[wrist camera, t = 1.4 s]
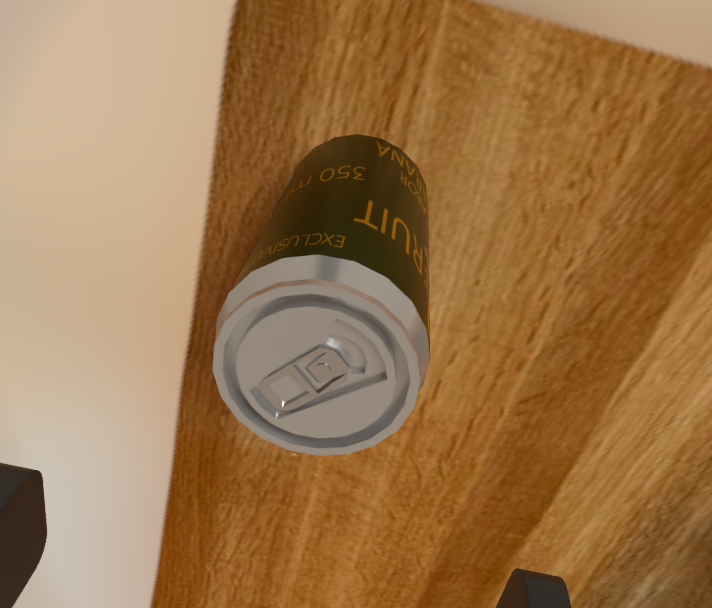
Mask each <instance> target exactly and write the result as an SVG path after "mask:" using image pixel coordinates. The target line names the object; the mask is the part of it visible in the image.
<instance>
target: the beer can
mask: <svg viewBox="0 0 712 608" xmlns="http://www.w3.org/2000/svg"><path fill="white" fill-rule="evenodd" d="M429 361H430V313H429V230H428V200H427V191H426V185H425V182H424V180H423V178H422V176H421V174H420V172H419V170H418V168H417V166H416V165H415V163H414V162H413V161H412V160H411V159H410V158H409V157H408V156H407V155H406V154H405V153H404V152H403V151H402V150H401V149H399V148H397V147H396V146H394V145H392V144H390V143H388V142H386V141H385V140H383V139H381V138H375V137H370V136H364V135H359V134H357V135H350V136H342V137H335V138H333V139H331V140H329V141H327V142H325V143H323V144H321V145H319V146H317V147H315V148H314V149H313V150H312V151H311V152H310V153H309V154H308V155H307V156H306V157H305V158H304V159H303V160H302V161H301V162H300V164H299V166H298V168H297V169H296V171H295V173H294V175H293V177H292V179H291V180H290V182H289V184H288V186H287V188H286V190H285V191H284V193H283V195H282V197H281V199H280V201H279V202H278V204H277V206H276V208H275V210H274V212H273V213H272V215H271V217H270V219H269V221H268V223H267V224H266V226H265V228H264V230H263V232H262V234H261V235H260V237H259V239H258V241H257V243H256V245H255V246H254V248H253V250H252V252H251V254H250V256H249V257H248V259H247V261H246V263H245V265H244V266H243V268H242V270H241V272H240V274H239V276H238V277H237V279H236V281H235V283H234V285H233V287H232V288H231V290H230V292H229V294H228V296H227V298H226V300H225V303H224V305H223V307H222V309H221V311H220V313H219V315H218V317H217V323H216V340H215V344H214V357H213V374H214V377H215V380H216V383H217V386H218V389H219V392H220V395H221V398H222V399H223V400H224V402H225V403H226V404H227V406H228V407H229V409H230V410H231V411H232V413H233V414H234V415H235V417H236V418H237V420H239V421H240V422H241V423H242V424H244V425H245V426H246V427H248V428H249V429H250V430H251V431H253V432H254V433H255V434H256V435H258V436H259V437H260V438H262V439H264V440H267V441H269V442H271V443H273V444H276V445H278V446H280V447H282V448H285V449H287V450H291V451H296V452H301V453H307V454H312V455H318V456H320V455H338V454H349V453H352V452H356V451H359V450H362V449H365V448H368V447H371V446H374V445H376V444H378V443H379V442H381V441H382V440H384V439H385V438H386V437H388V436H389V435H391V434H392V433H394V432H395V431H397V430H398V429H399V427H400V426H401V425H402V423H403V422H404V421H405V419H406V418H407V417H408V415H409V414H410V412H411V411H412V410H413V408H414V405H415V401H416V397H417V393H418V392H419V390H420V389H421V387H422V386H423V383H424V379H425V376H426V372H427V368H428V364H429Z"/></svg>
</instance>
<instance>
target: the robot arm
mask: <svg viewBox="0 0 712 608" xmlns="http://www.w3.org/2000/svg"><path fill="white" fill-rule="evenodd" d="M46 538H47V525H46V513H45V502H44V489H43V478H42V474H41V473H40V471H38V470H33V469H28V468H23V467H18V466H13V465H8V464H3V463H0V608H12V607H13V605H14V604H15V602H16V600H17V599H18V597H19V595H20V594H21V592H22V591H23V589H24V587H25V586H26V584H27V582H28V581H29V579H30V578H31V576H32V574H33V573H34V571H35V569H36V567H37V565H38V563H39V561H40V559H41V556H42V554H43V551H44V547H45V543H46ZM496 608H571V604H570V600H569V595H568V591H567V587H566V584H565V582H564V580H563V579H562V578H561V577H558V576H553V575H548V574H543V573H538V572H533V571H528V570H523V569H515V570H514V571H513V572H512V574H511V576H510V578H509V580H508V582H507V585H506V587H505V589H504V591H503V593H502V595H501V598H500V600H499V602H498V604H497V606H496Z"/></svg>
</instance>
